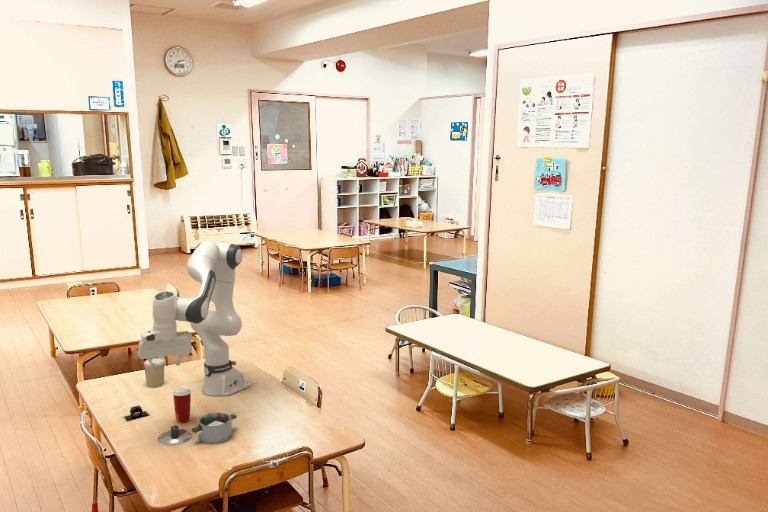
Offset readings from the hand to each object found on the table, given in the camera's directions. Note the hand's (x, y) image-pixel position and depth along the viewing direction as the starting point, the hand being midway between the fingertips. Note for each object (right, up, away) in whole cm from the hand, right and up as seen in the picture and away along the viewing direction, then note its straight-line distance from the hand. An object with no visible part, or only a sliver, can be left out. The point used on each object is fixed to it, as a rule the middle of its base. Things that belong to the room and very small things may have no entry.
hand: (165, 366), depth 238 cm
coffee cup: (-24, -19, +51) cm, 60 cm away
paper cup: (+2, -26, +14) cm, 29 cm away
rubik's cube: (+20, -29, +1) cm, 35 cm away
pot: (+20, -28, +1) cm, 34 cm away
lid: (+4, -29, -1) cm, 29 cm away
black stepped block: (-19, -25, +17) cm, 36 cm away
